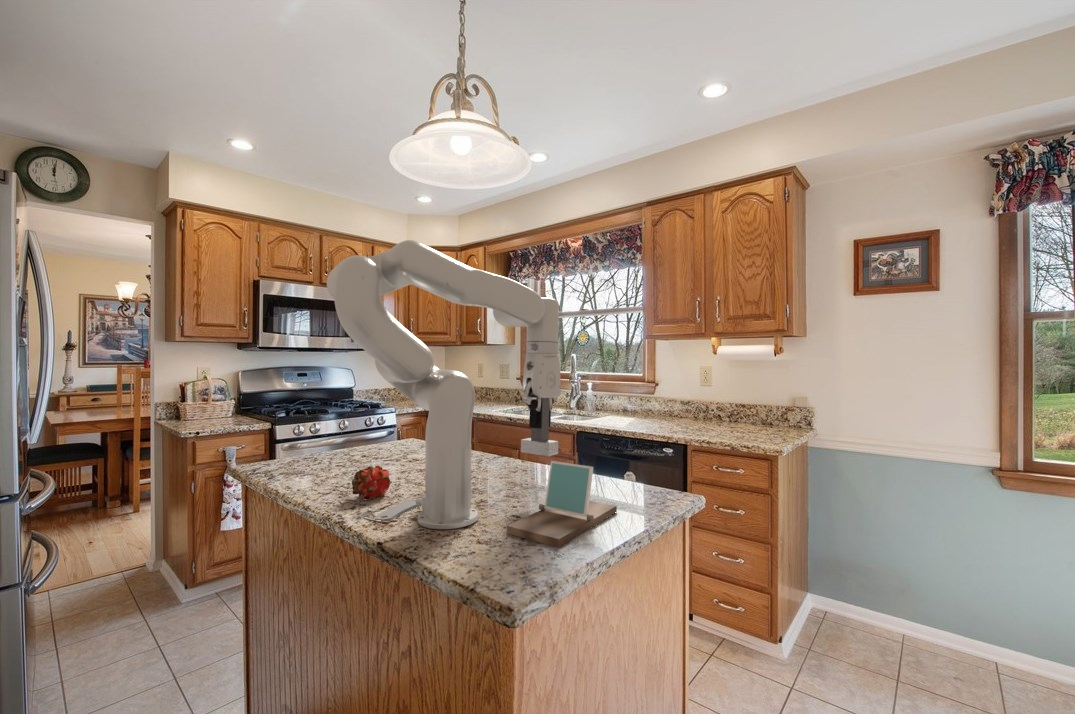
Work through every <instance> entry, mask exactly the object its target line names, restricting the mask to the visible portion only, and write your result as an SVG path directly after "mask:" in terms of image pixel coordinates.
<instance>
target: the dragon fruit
mask: <svg viewBox="0 0 1075 714" xmlns="http://www.w3.org/2000/svg"><path fill="white" fill-rule="evenodd" d="M390 475H391V474H390V472H389V470H388V469H387V468H383V467H382V466H381V465H375V466H372V465H371V466H368V467H367V468H364V469H359V470H358V471H356V472H355V474H354V476H353V479H352V480H351V486H352V490H353V491H351V492H352V494H353V495H358V497H359V498H361V499H362V500H364V499H368V500H367V501H369V500H370V499H371V498H375V499H382V498H383V497H384V496H383V495H386V493H387V491H388V489H390V486H391V484H393V482H392V481H391V479H390Z"/></svg>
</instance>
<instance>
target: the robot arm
mask: <svg viewBox="0 0 1075 714" xmlns="http://www.w3.org/2000/svg"><path fill="white" fill-rule="evenodd" d="M410 285H411V286H414V287H415V288H419V289H420V290H423V291H426V292H429V294H433V295H435V296H437V297H439V298H441V299H444V300H446V301H449V302H450V303H452V304H456V305H460V306H466V307H467V306H468V307H470V306H471V307H472V306H473V307H481V308H487V309H491V310H492V315H493V318H494V320H495V321H496V322H497V323H498V324H499V325H501V326H503V327H505V328H518V327H520V328H521V327H522V328H523V327H526V348H525V349H526V353H525V359H524V366H523V375H522V393H523V396H522V401H523V402H524V403H525V404H526V405H527V408H528V409H527V410H528V411H529V418H528V419H529V422H528V423H529V424H528V426H529V428H530V429H531V428H538V429H540V428H541V427H542V411H540V409H541V398H550V400H549V428H550V427H551V425H552V424H551V422H552V421H551V417H552V414H551V413H552V410H553V405H554V402H555V401H556V400H557V399H558V397H559V396H560V395H561V392H562V391H561V387H562V386H561V385H562V384H561V379H562V378H561V366H560V365H561V364H560V358H559V354H558V353H559V324H560V323H559V321H560V319H559V318H560V315H559V314H560V304H559V301H558V300H557V299H555V298H551V297H541V295H540V294H539V293H538V292H536V291H535V290H533V289H531V288H530V287H527V286H526V285H524V284H522V283H520V282H518V281H516V280H514V279H511V278H508V277H506V276H502V275H499V274H496V273H493V272H488V271H486V270H482V269H478V268H476V267H475V268H474V267H472V266H469V265H467V264H465V263H463V262H461V261H458V260H456V259H455V258H452V257H451V256H448V255H446V254H444V253H442V252H441V251H439V250H437V249H434V248H432V247H430V246H429V245H426V244H424V243H421V242H420V241H416V240H411V239H410V240H409V239H408V240H403V241H401V242H398V243H397V244H395V245H394V246H392V247H391V248H390V249H388V250H385V251H383V252H379V253H377V254H374V255H372V256H365V255H361V254H357V255H350V256H347V257H346V258H344V259H343V260H341V261H340V262H338V264H337V265H335V266H334V268H332V270H331V271H330V272H329V274H328V276H327V279H326V288H327V291H328V293H329V295H330V296H331V298H332V299H333V300H334V306H335V312H336V315H337V317H338V321H339V323H340V325H341V327H342V329H343V330H344V331H345V333H346V334H347V335H348V337H350V338H351V340H353V342H355V343H356V344H357V345H358V346H359V347H360V348H361V349H363V350H364V351H365V352H366V353H367V354H368V355H369V356H370V357H372V358H373V359H374V365H375V369H377V372H378V373H379V375H381V377H382V378H383V379H384V380H385V381H386V382H387V383H389V384H390V385H391V386H392V387H394V388H395V389H396V390H398V391H399V393H401V394H403V395H404V396H405V397H407V398H408V399H409V400H410V401H412V402H413V403H415V405H417V406H418V407H420V408H421V409H423V410H425V411H428V415H427V416H428V417H427V421H426V424H425V425H426V426H425V436H424V437H425V438H424V439H425V443H424V444H425V445H424V447H425V451H424V452H425V457H424V458H425V464H424V465H425V466H424V467H425V468H424V469H425V470H424V471H425V472H424V473H425V476H424V477H425V480H424V481H425V482H424V484H425V485H424V486H425V488H424V489H425V490H424V492H422V493H420V496H419V497H416V498H415V500H416V504H418V505H422V506H421V507H422V508H421V510H422V511H420V512H419V513H418V515H417V523H418V525H420V526H422V527H423V528H428V529H433V530H454V529H460V528H465V527H467V526H470V525H473V524H474V523H476V522H477V521H478V519H479V511H477V509H476V508H473V507H472V424H473V423H472V422H473V415H474V409H475V403H476V392H475V387H474V384H473V382H472V380H471V379H470V378H469V377H468V376H467V375H466V374H464V373H463V372H461V371H459V370H453V369H440V368H439V367H437V366H436V365H435V361H434V359H435V358H434V355H433V352H432V351H431V349H430V348H429V347H428V346H427V345H426V344H425V343H424V342H423V341H422V340H421V339H419V338H418V337H417V336H415V334H413V333H412V332H411V331H409V329H407V328H406V327H405V326H404V325H403V324H402V323H401V322H400V321H398V320H397V319H396V318H395V317H394V316H393V315H392V314H391V313H390V311H388V310H387V308H386V307H385V304H384V302H383V299H382V296H384V295H385V296H386V295H387V294H390V293H393V292H395V291H398V290H400V289H403V288H406V287H407V286H410ZM533 394H534V395H536V396H537V397H533ZM535 400H537V401H536V402H535Z"/></svg>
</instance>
